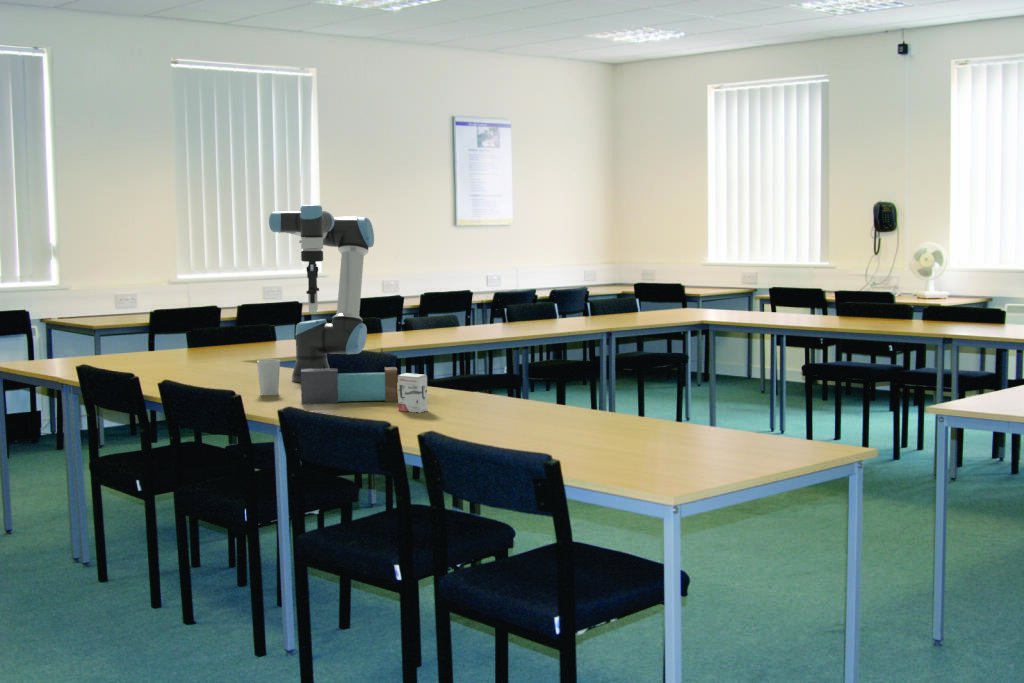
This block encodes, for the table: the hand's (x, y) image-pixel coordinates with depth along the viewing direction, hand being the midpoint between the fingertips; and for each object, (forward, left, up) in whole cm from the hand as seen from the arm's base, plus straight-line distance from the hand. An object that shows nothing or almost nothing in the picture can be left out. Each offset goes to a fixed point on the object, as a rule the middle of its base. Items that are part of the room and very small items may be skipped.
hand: (313, 311), depth 378 cm
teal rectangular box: (+14, +16, -30) cm, 37 cm away
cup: (-6, -16, -30) cm, 34 cm away
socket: (+14, +26, -30) cm, 42 cm away
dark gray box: (+14, +2, -30) cm, 33 cm away
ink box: (+36, +32, -30) cm, 57 cm away
